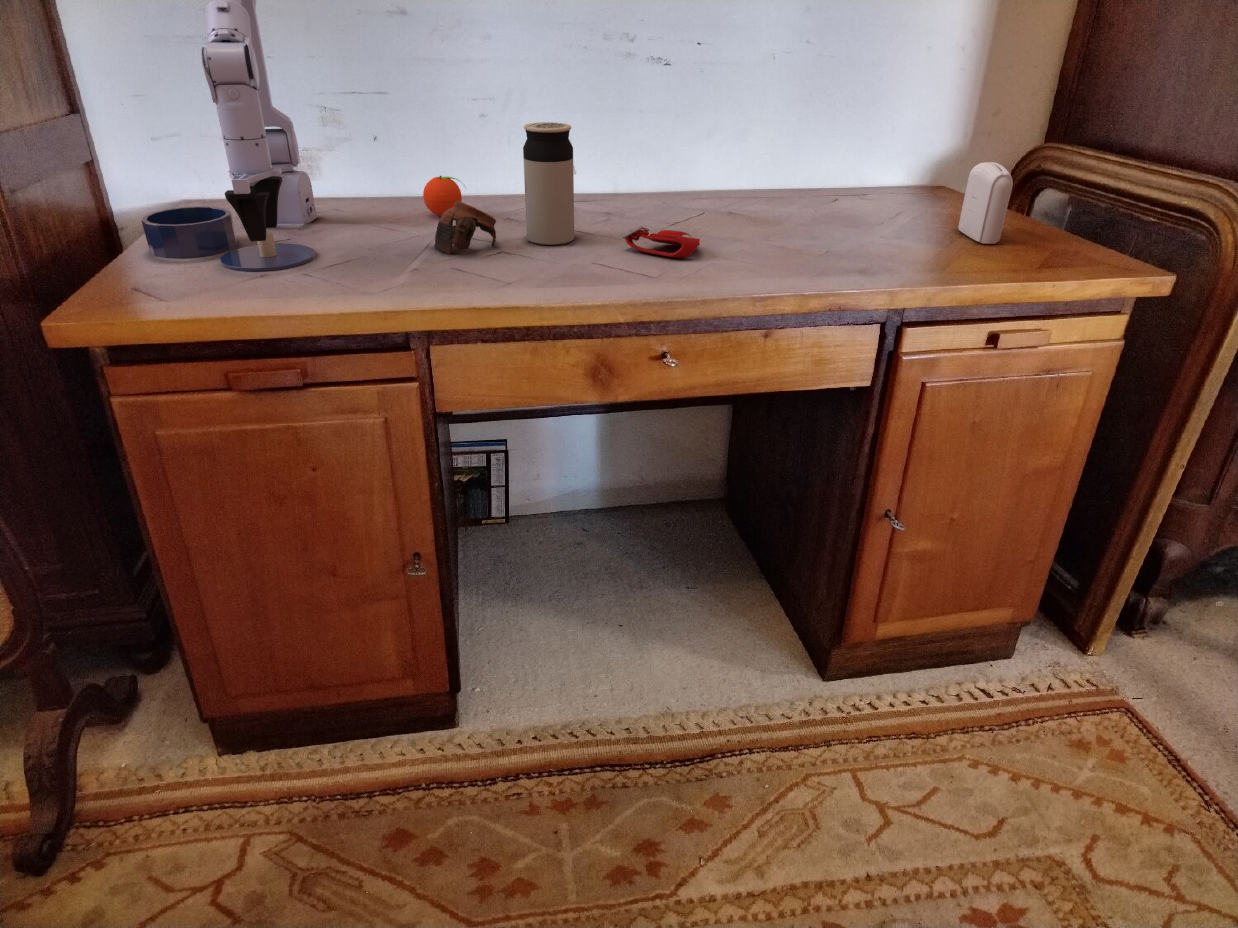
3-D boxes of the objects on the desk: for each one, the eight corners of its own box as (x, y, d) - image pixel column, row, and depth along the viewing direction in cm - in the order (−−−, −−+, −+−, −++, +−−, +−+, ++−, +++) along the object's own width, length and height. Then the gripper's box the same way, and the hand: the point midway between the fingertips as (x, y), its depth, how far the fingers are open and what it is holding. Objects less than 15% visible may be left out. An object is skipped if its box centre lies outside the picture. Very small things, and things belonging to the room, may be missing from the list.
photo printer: (953, 229, 149) (969, 157, 143) (977, 230, 149) (993, 158, 143) (977, 245, 140) (994, 169, 134) (1002, 245, 140) (1020, 169, 134)
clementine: (464, 210, 157) (461, 170, 153) (472, 218, 151) (469, 178, 148) (422, 212, 154) (418, 173, 151) (428, 221, 149) (424, 180, 145)
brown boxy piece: (429, 245, 137) (448, 198, 136) (482, 269, 140) (501, 223, 139) (428, 245, 126) (449, 193, 125) (486, 271, 129) (507, 221, 127)
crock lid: (328, 251, 131) (323, 222, 129) (296, 276, 120) (290, 246, 118) (245, 249, 132) (239, 220, 130) (205, 274, 120) (198, 243, 118)
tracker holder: (683, 234, 139) (715, 233, 130) (680, 261, 140) (711, 262, 131) (619, 223, 134) (648, 222, 125) (616, 251, 135) (644, 252, 126)
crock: (250, 241, 136) (243, 207, 133) (215, 263, 125) (207, 226, 122) (176, 239, 136) (168, 205, 133) (135, 261, 125) (125, 224, 123)
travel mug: (582, 237, 141) (581, 124, 132) (560, 248, 135) (557, 131, 126) (541, 231, 144) (538, 120, 135) (518, 242, 138) (512, 127, 129)
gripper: (262, 145, 111) (282, 246, 118) (284, 129, 124) (300, 221, 130) (207, 145, 110) (230, 247, 117) (234, 130, 123) (253, 222, 129)
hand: (264, 234), depth 124 cm, fingers open, 7 cm apart
